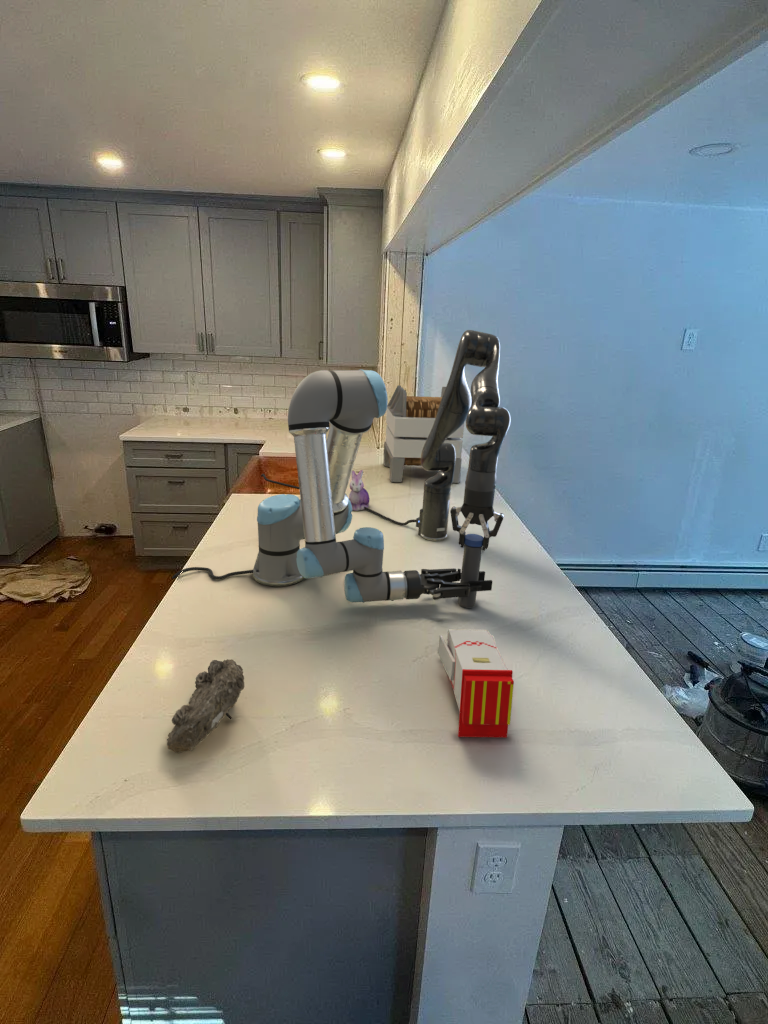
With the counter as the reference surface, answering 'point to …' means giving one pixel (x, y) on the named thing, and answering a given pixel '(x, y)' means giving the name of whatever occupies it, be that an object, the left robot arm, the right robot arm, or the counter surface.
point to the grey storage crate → (413, 432)
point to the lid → (473, 540)
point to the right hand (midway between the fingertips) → (472, 547)
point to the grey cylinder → (470, 573)
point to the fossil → (206, 705)
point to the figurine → (358, 492)
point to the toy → (478, 682)
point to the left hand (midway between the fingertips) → (487, 580)
